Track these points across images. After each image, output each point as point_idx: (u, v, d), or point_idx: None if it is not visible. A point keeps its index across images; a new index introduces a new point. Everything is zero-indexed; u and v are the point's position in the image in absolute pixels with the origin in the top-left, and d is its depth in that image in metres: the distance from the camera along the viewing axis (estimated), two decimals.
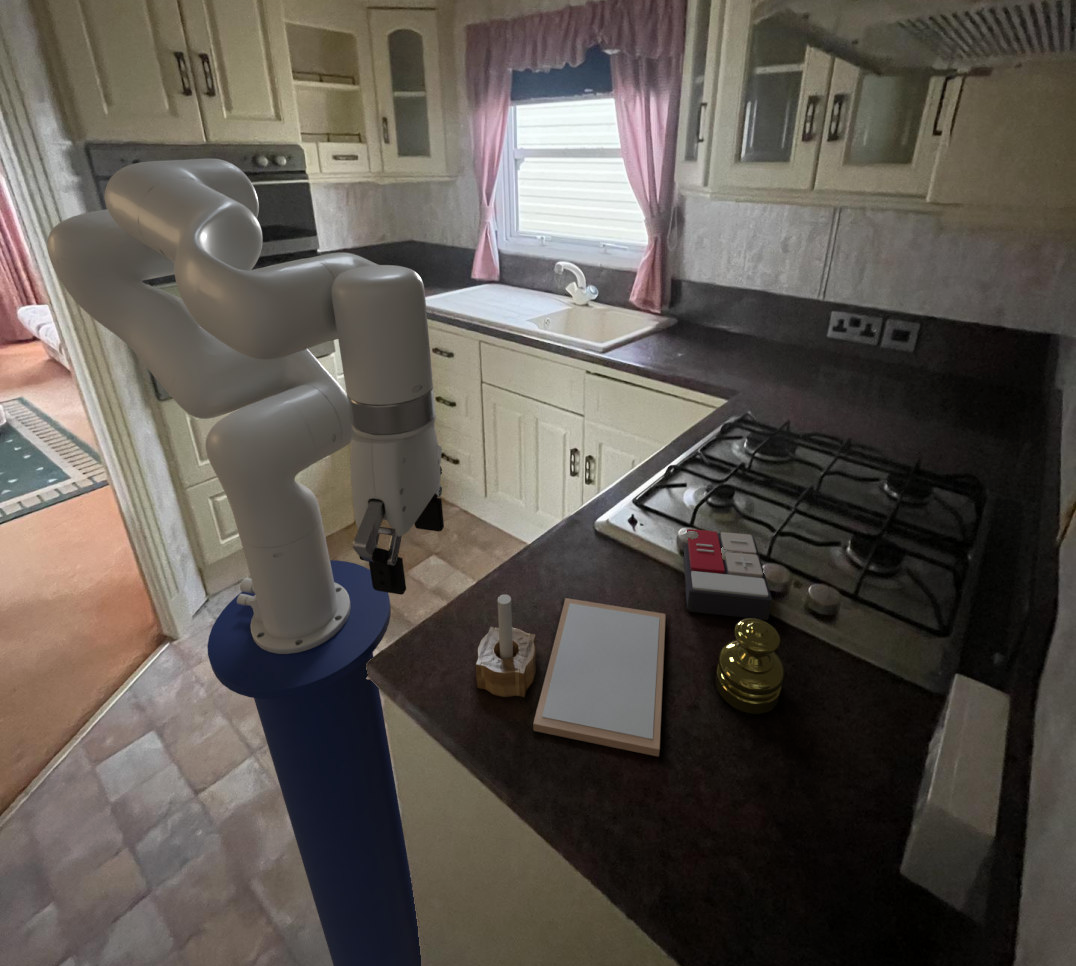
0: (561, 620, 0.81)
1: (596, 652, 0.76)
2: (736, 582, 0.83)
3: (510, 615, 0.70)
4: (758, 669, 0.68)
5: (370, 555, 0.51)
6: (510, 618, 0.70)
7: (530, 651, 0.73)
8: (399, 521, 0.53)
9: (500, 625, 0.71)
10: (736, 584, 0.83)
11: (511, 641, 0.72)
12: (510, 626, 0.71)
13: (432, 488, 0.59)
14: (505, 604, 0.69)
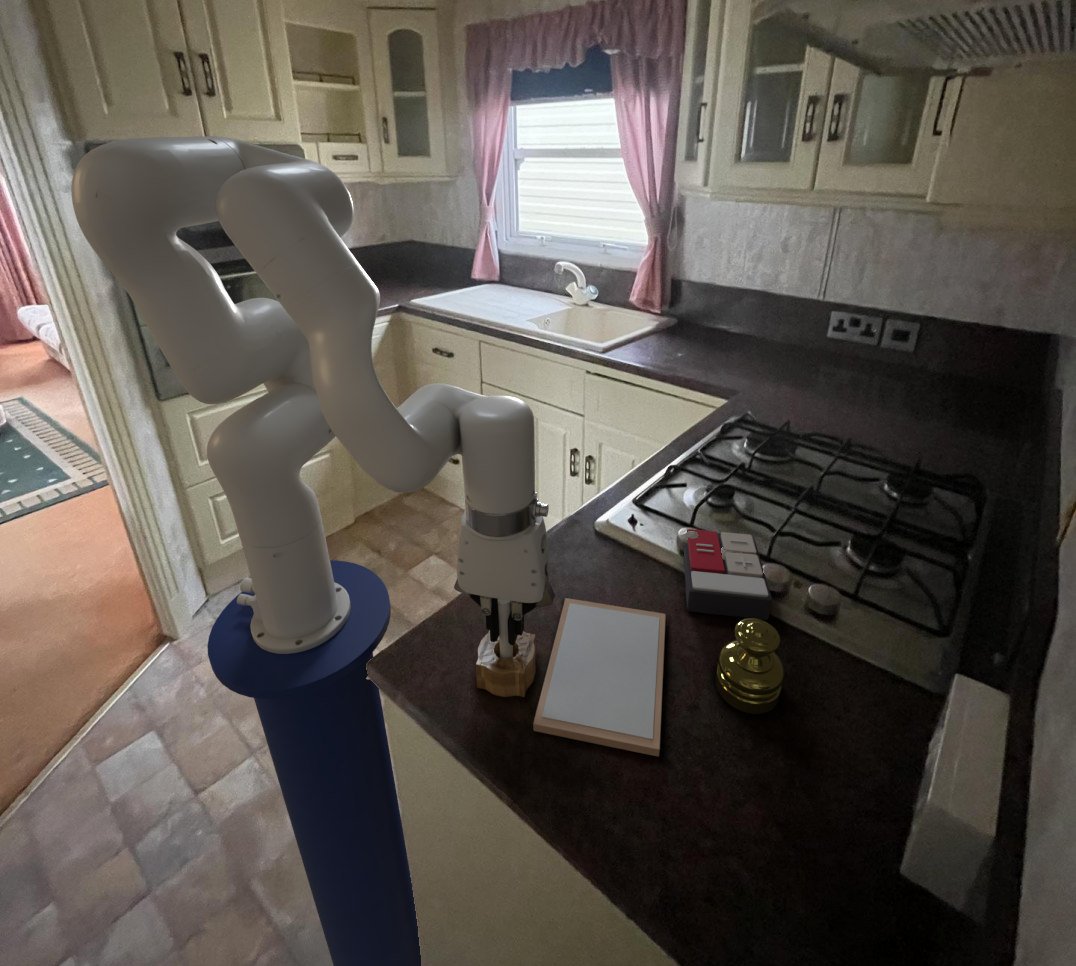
0: (561, 620, 0.81)
1: (596, 652, 0.76)
2: (736, 582, 0.83)
3: None
4: (758, 669, 0.68)
5: (465, 593, 0.70)
6: None
7: (530, 651, 0.73)
8: (457, 577, 0.67)
9: (500, 625, 0.71)
10: (736, 584, 0.83)
11: None
12: None
13: (515, 594, 0.66)
14: (505, 604, 0.69)
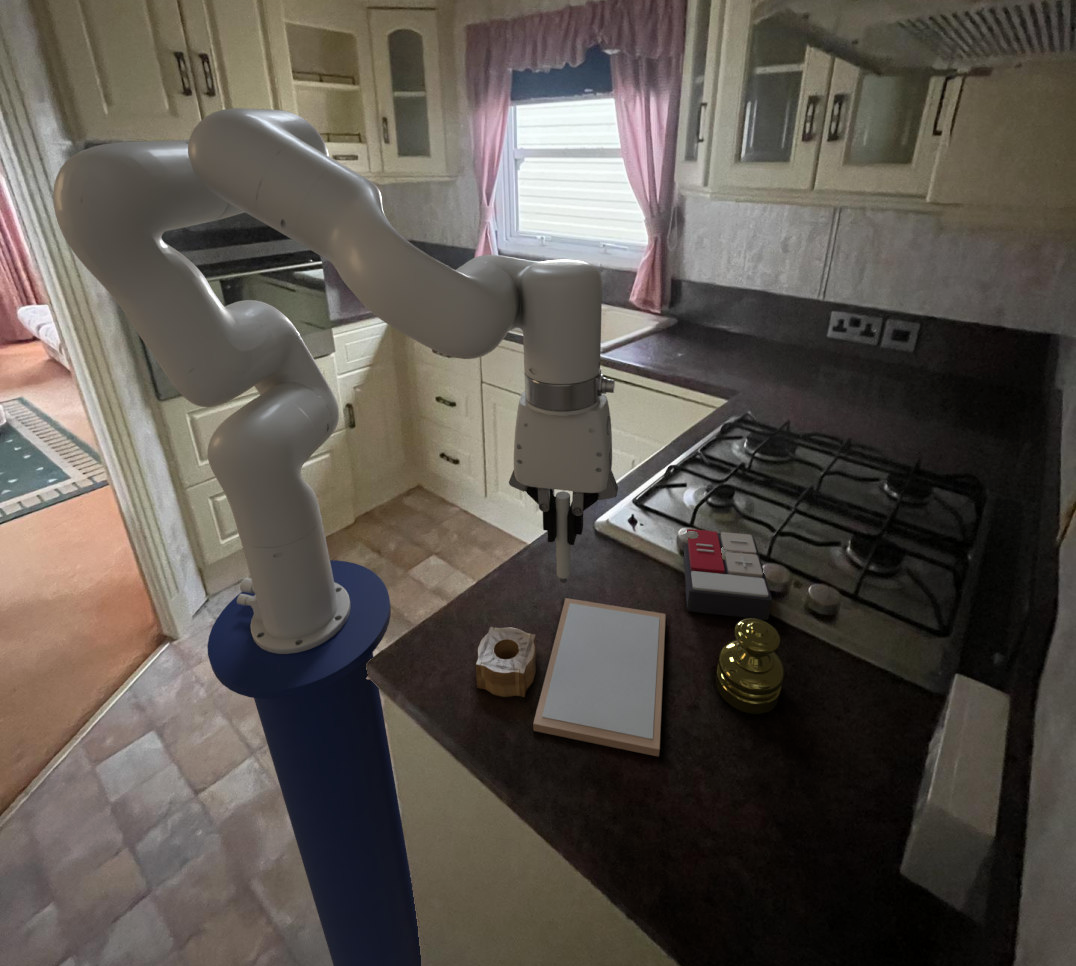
0: (561, 620, 0.81)
1: (596, 652, 0.76)
2: (736, 582, 0.83)
3: None
4: (758, 669, 0.68)
5: (520, 489, 0.65)
6: None
7: (530, 651, 0.73)
8: (514, 468, 0.63)
9: (558, 524, 0.66)
10: (736, 584, 0.83)
11: None
12: None
13: (577, 483, 0.61)
14: (564, 499, 0.64)
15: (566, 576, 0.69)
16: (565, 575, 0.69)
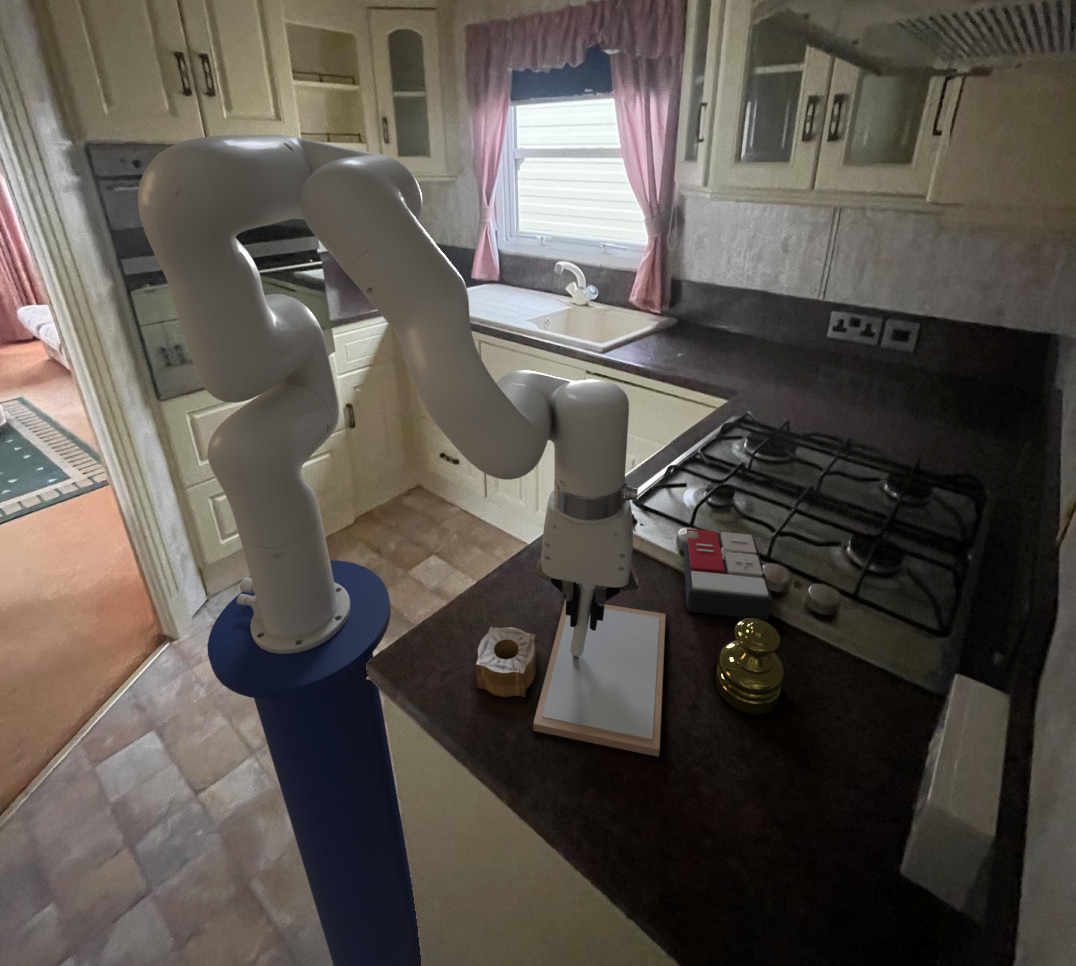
0: (561, 620, 0.81)
1: (596, 652, 0.76)
2: (736, 582, 0.83)
3: None
4: (758, 669, 0.68)
5: None
6: None
7: (530, 651, 0.73)
8: (542, 562, 0.68)
9: (580, 610, 0.71)
10: (736, 584, 0.83)
11: (587, 627, 0.72)
12: (589, 612, 0.71)
13: (601, 579, 0.66)
14: (590, 590, 0.69)
15: (579, 654, 0.74)
16: (579, 653, 0.74)
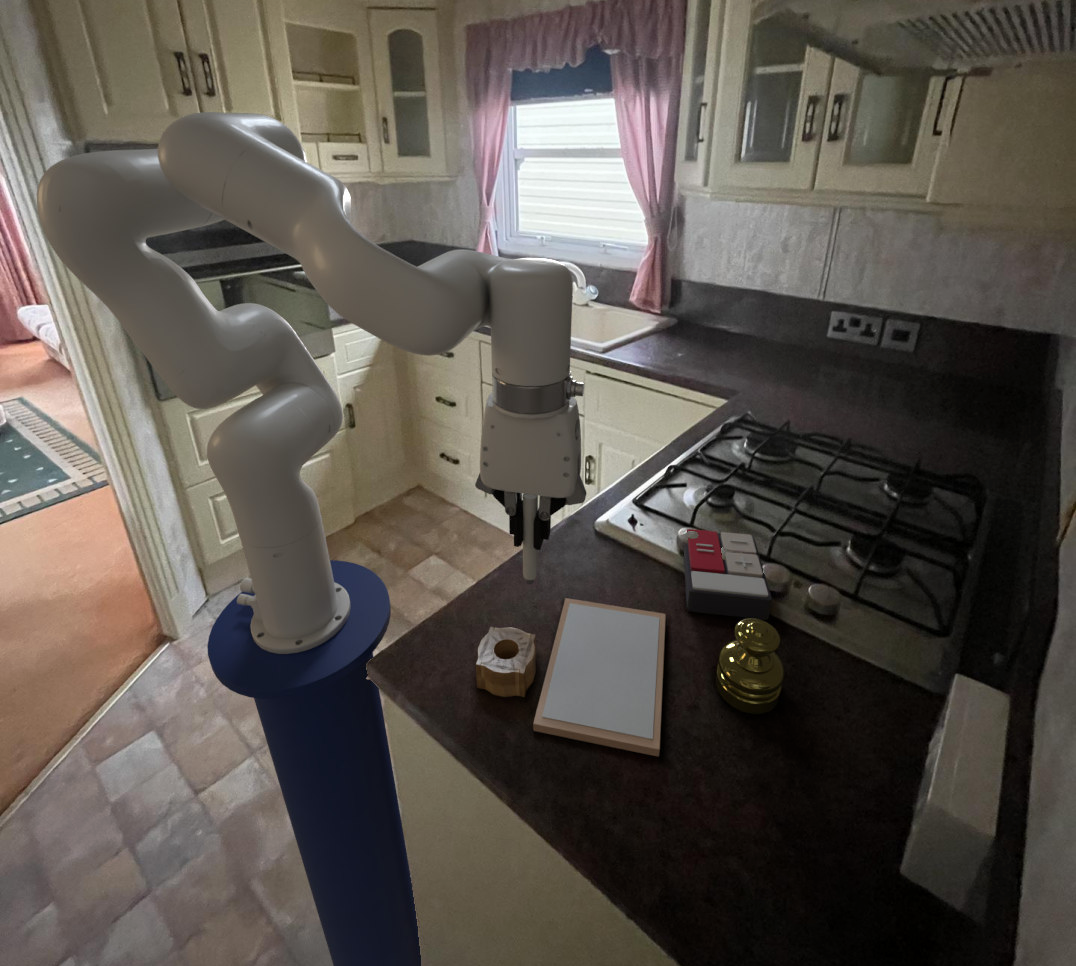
0: (561, 620, 0.81)
1: (596, 652, 0.76)
2: (736, 582, 0.83)
3: (536, 513, 0.64)
4: (758, 669, 0.68)
5: (487, 492, 0.64)
6: None
7: (530, 651, 0.73)
8: (480, 470, 0.61)
9: (525, 525, 0.64)
10: (736, 584, 0.83)
11: None
12: None
13: (544, 487, 0.60)
14: (531, 499, 0.63)
15: (532, 577, 0.67)
16: (531, 576, 0.67)
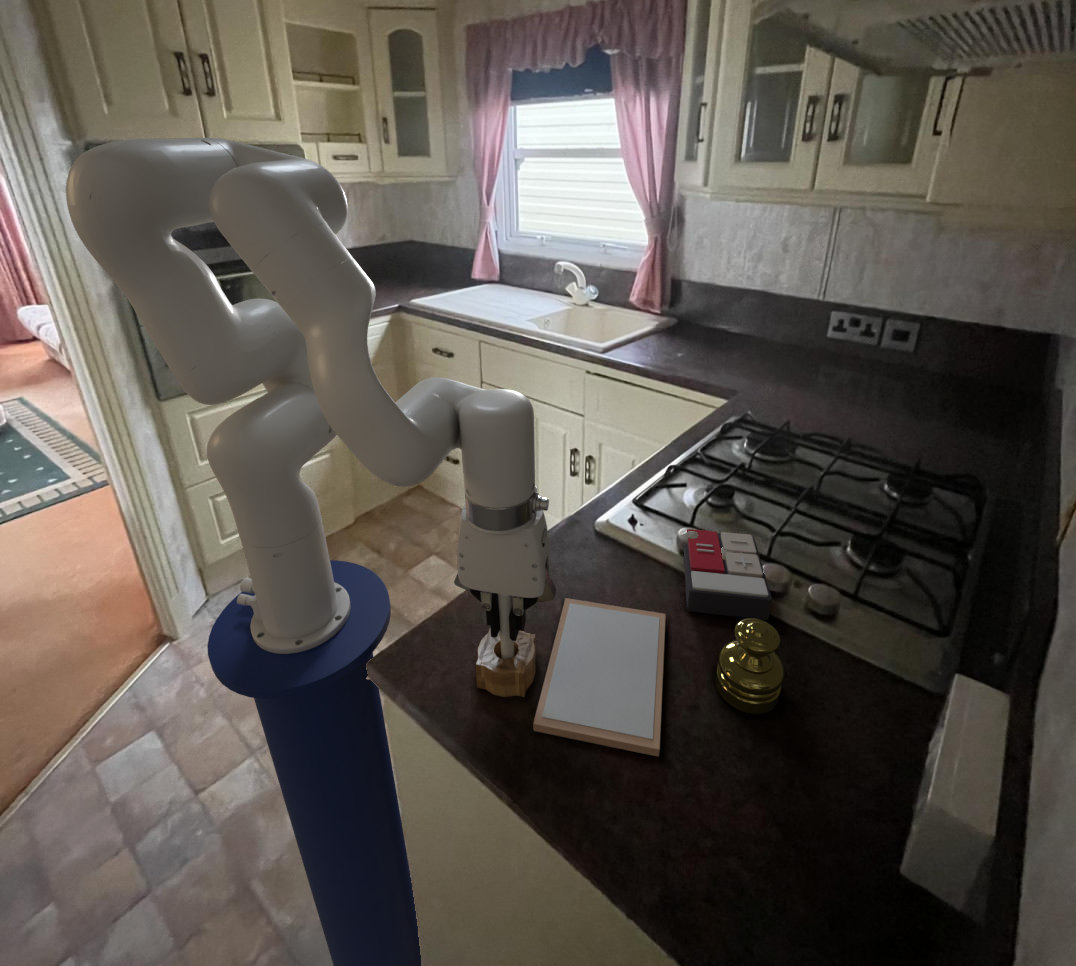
0: (561, 620, 0.81)
1: (596, 652, 0.76)
2: (736, 582, 0.83)
3: None
4: (758, 669, 0.68)
5: (465, 589, 0.70)
6: None
7: (530, 651, 0.73)
8: (458, 572, 0.67)
9: (501, 618, 0.70)
10: (736, 584, 0.83)
11: None
12: None
13: (515, 589, 0.66)
14: (506, 596, 0.68)
15: None
16: None
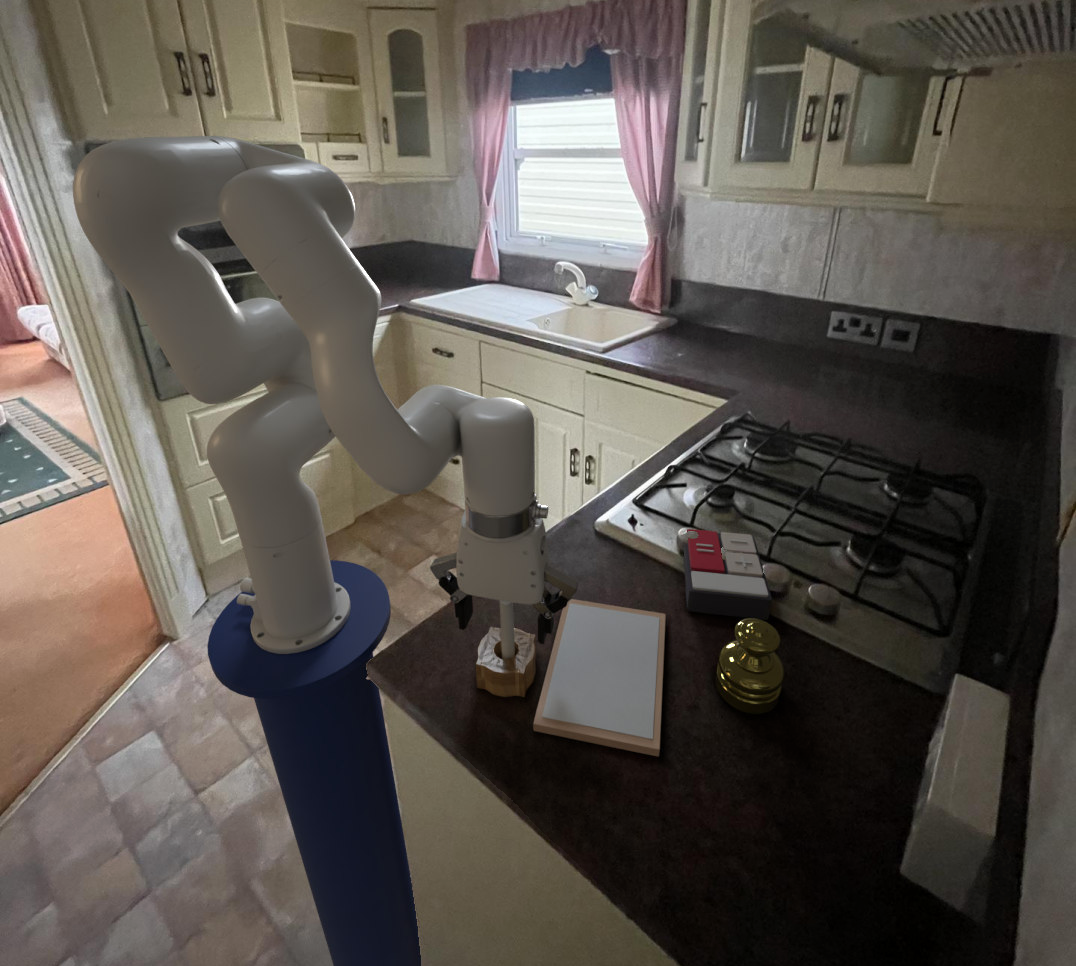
0: (561, 620, 0.81)
1: (596, 652, 0.76)
2: (736, 582, 0.83)
3: (512, 615, 0.70)
4: (758, 669, 0.68)
5: (435, 576, 0.70)
6: (512, 618, 0.70)
7: (530, 651, 0.73)
8: (457, 579, 0.67)
9: (502, 625, 0.70)
10: (736, 584, 0.83)
11: (513, 641, 0.72)
12: (512, 626, 0.71)
13: (514, 596, 0.66)
14: (507, 604, 0.69)
15: None
16: None
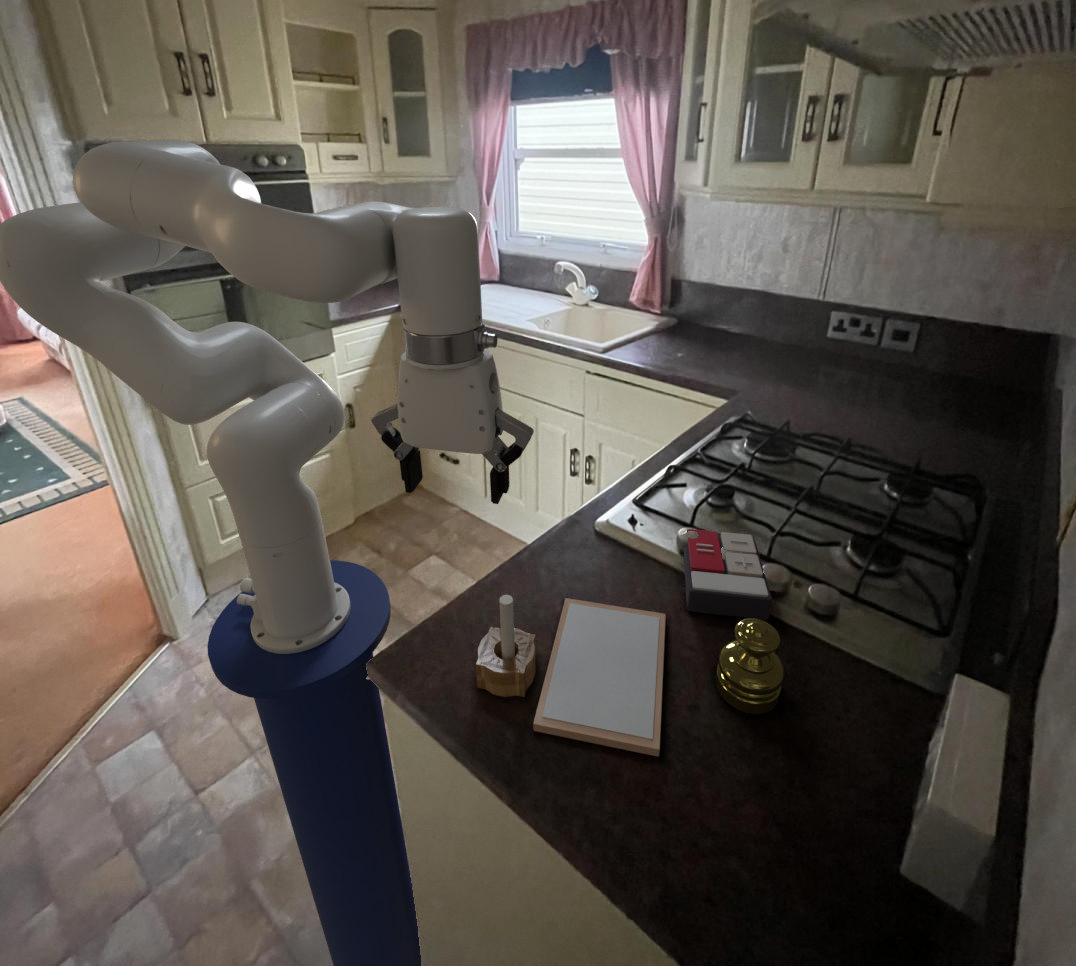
0: (561, 620, 0.81)
1: (596, 652, 0.76)
2: (736, 582, 0.83)
3: (512, 615, 0.70)
4: (758, 669, 0.68)
5: (377, 430, 0.63)
6: (512, 618, 0.70)
7: (530, 651, 0.73)
8: (399, 427, 0.61)
9: (502, 625, 0.70)
10: (736, 584, 0.83)
11: (513, 641, 0.72)
12: (512, 626, 0.71)
13: (462, 443, 0.59)
14: (507, 604, 0.69)
15: None
16: None
